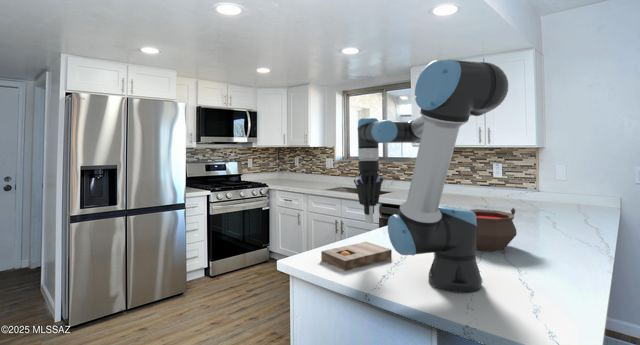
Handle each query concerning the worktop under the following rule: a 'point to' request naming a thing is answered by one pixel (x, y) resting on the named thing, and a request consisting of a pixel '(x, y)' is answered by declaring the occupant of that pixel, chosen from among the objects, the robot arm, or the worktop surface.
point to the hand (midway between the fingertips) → (369, 222)
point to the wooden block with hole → (356, 255)
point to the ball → (345, 253)
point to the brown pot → (494, 229)
